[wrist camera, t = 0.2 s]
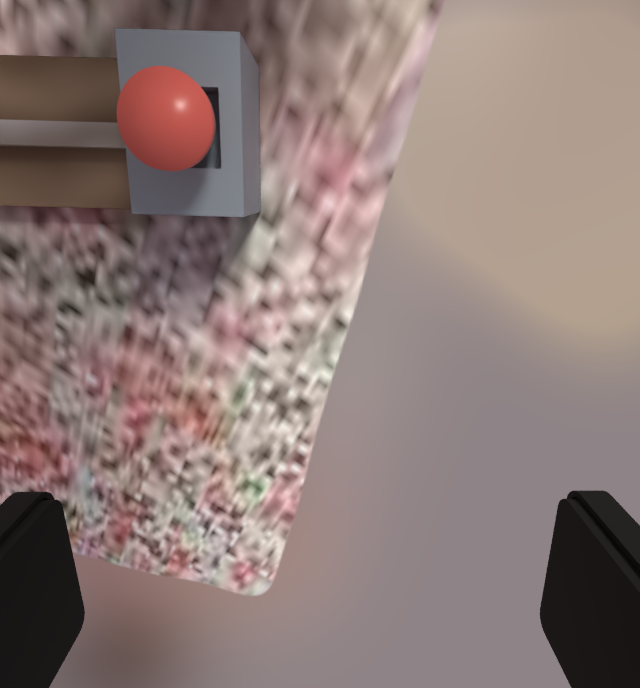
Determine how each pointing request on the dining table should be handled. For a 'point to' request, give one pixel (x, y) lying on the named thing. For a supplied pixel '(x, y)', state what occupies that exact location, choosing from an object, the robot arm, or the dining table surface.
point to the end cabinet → (230, 116)
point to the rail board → (61, 133)
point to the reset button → (166, 118)
